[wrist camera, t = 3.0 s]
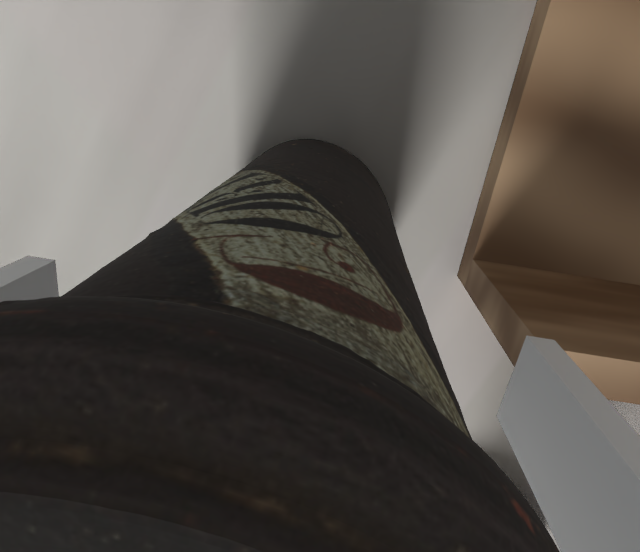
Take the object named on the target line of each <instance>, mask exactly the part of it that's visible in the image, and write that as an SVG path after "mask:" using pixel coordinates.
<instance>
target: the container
mask: <svg viewBox="0 0 640 552" xmlns="http://www.w3.org/2000/svg"><path fill="white" fill-rule="evenodd" d="M0 552H559V550H558V548H557V547H556V545H555V543H554V541H553V539H552V538H551V536H550V534H549V533H548V531H547V530H546V528H545V526H544V525H543V523H542V522H541V520H540V519H539V517H538V516H537V514H536V513H535V511H534V510H533V509H532V508H531V506H530V505H529V503H528V502H527V501H526V499H525V498H524V497H523V495H522V494H521V493H520V491H519V490H518V489H517V488H516V486H515V485H514V484H513V483H512V482H511V480H510V479H509V478H508V477H507V476H506V474H505V473H504V472H503V471H502V470H501V469H500V468H499V467H498V465H497V464H496V463H495V462H494V461H493V460H492V459H491V458H490V457H489V456H488V455H487V454H486V453H485V452H484V451H483V450H482V449H481V448H480V447H479V446H478V445H477V444H476V443H475V442H474V441H473V440H472V438H471V436H470V433H469V431H468V429H467V426H466V424H465V421H464V418H463V415H462V412H461V409H460V406H459V404H458V401H457V399H456V397H455V394H454V392H453V390H452V388H451V385H450V383H449V380H448V378H447V375H446V372H445V370H444V367H443V364H442V361H441V359H440V356H439V353H438V351H437V348H436V345H435V343H434V341H433V338H432V335H431V332H430V329H429V326H428V323H427V320H426V318H425V315H424V312H423V309H422V306H421V303H420V300H419V298H418V295H417V292H416V289H415V286H414V284H413V281H412V278H411V275H410V273H409V270H408V268H407V265H406V262H405V259H404V256H403V252H402V249H401V246H400V243H399V240H398V237H397V233H396V230H395V227H394V224H393V220H392V217H391V213H390V209H389V206H388V204H387V201H386V198H385V196H384V194H383V192H382V190H381V188H380V185H379V183H378V182H377V180H376V179H375V177H374V176H373V174H372V173H371V172H370V171H369V169H368V168H367V167H366V166H365V165H364V164H363V163H362V162H361V161H360V160H359V159H358V158H356V157H355V156H354V155H352V154H351V153H349V152H347V151H346V150H344V149H342V148H340V147H338V146H336V145H333V144H330V143H327V142H324V141H319V140H312V139H298V140H292V141H288V142H285V143H282V144H280V145H277V146H275V147H273V148H271V149H270V150H268V151H267V152H265V153H264V154H262V155H261V156H260V157H258V158H257V159H256V160H254V161H253V162H251V163H250V164H249V165H247V166H246V167H245V168H243V169H242V170H241V171H239V172H238V173H236V174H235V175H234V176H232V177H231V178H229V179H228V180H226V181H225V182H224V183H222V184H221V185H220V186H218V187H216V188H215V189H214V190H212V191H210V192H209V193H208V194H207V195H205V196H204V197H203V198H201V199H200V200H198V201H197V202H196V203H195V204H193V205H192V206H190V207H189V208H188V209H186V210H185V211H183V212H182V213H181V214H179V215H178V216H176V217H175V218H173V219H172V220H171V221H170V222H169V223H168V224H166V225H165V226H164V227H162V228H160V229H159V230H156V231H154V232H152V233H150V234H149V235H148V237H147V238H146V239H144V240H143V241H141V242H140V243H138V244H137V245H135V246H134V247H133V248H131V249H130V250H128V251H127V252H125V253H124V254H122V255H121V256H119V257H118V258H116V259H115V260H114V261H112V262H110V263H109V264H107V265H106V266H105V267H103V268H101V269H100V270H99V271H97V272H96V273H94V274H93V275H92V276H90V277H89V278H88V279H86V280H85V281H83V282H82V283H80V284H79V285H77V286H76V287H75V288H73V289H72V290H70V291H69V292H67V293H66V294H64V295H63V296H61V297H47V298H41V299H34V300H14V301H2V302H0Z"/></svg>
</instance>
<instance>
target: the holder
mask: <svg viewBox="0 0 640 552" xmlns="http://www.w3.org/2000/svg"><path fill="white" fill-rule="evenodd" d="M457 276H458V278H459V279H460V281H461V282H462V284H463V286H464V287H465V289H466V290H467V292H468V294H469V295H470V297H471V298H472V300H473V302H474V303H475V305H476V306H477V308H478V310H479V311H480V313H481V314H482V316H483V318H484V319H485V321H486V322H487V324H488V326H489V327H490V329H491V330H492V332H493V333H494V335H495V337H496V338H497V340H498V341H499V343H500V345H501V346H502V348H503V349H504V351H505V353H506V354H507V356H508V357H509V359H510V361H511V362H512V364H513V365H514V367H515V365H516V362H517V360H518V357H519V354H520V352H521V349H522V346H523V344H524V341H525V338H526V336H533V337H539V338H545V339H552V340H555V341H556V342H557V343H558V345H559V346H560V347H561V348H562V349H563V350H564V351H565V352H566V353H567V355H568V356H569V357H570V358H571V359H572V360H573V361H574V362H575V364H576V365H577V366H578V367H579V368H580V369H581V370H582V371H583V373H584V374H585V375H586V376H587V377H588V378H589V379H590V380H591V382H592V383H593V384H594V385H595V386H596V387H597V388H598V389H599V391H600V392H601V393H602V394H603V395H604V396H605V397H606V398H607V399H608V400H614V401H621V402H627V403H633V404H640V0H537V3H536V7H535V10H534V14H533V17H532V21H531V24H530V27H529V31H528V34H527V38H526V41H525V45H524V48H523V52H522V55H521V58H520V62H519V65H518V69H517V72H516V76H515V79H514V82H513V86H512V89H511V93H510V96H509V100H508V103H507V107H506V110H505V113H504V117H503V120H502V124H501V127H500V131H499V134H498V137H497V141H496V144H495V148H494V151H493V155H492V158H491V161H490V165H489V168H488V172H487V175H486V179H485V182H484V186H483V189H482V192H481V196H480V199H479V203H478V206H477V210H476V213H475V216H474V220H473V223H472V227H471V230H470V234H469V237H468V241H467V244H466V247H465V251H464V254H463V258H462V261H461V265H460V268H459V271H458V275H457Z"/></svg>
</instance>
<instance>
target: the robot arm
mask: <svg viewBox="0 0 640 552" xmlns="http://www.w3.org/2000/svg"><path fill="white" fill-rule="evenodd" d="M47 297H59V294H58V284H57V274H56V264H55V260H51V259H45V258H39V257H33V256H26V257H24V258H22V259H20V260H17V261H15V262H13V263H11V264H8V265H6V266H4V267H2V268H0V302H2V301H14V300H34V299H41V298H47ZM497 418H498V420H499V422H500V424H501V426H502V429H503V431H504V433H505V435H506V437H507V439H508V441H509V443H510V445H511V447H512V449H513V452H514V454H515V456H516V458H517V460H518V462H519V464H520V466H521V468H522V470H523V473H524V475H525V477H526V479H527V481H528V483H529V485H530V487H531V489H532V491H533V494H534V496H535V498H536V500H537V502H538V504H539V506H540V508H541V510H542V512H543V515H544V517H545V519H546V521H547V523H548V525H549V527H550V529H551V531H552V533H553V536H554V538H555V540H556V542H557V544H558V546H559V548H560V550H561V552H640V436H639V434H638V433H637V432H636V431H635V430H634V429H633V428H632V427H631V425H630V424H629V423H628V422H627V421H626V420H625V419H624V418H623V416H622V415H621V414H620V413H619V412H618V411H617V410H616V409H615V407H614V406H613V405H612V404H611V403H610V402H609V401H608V400H607V398H606V397H605V396H604V395H603V394H602V393H601V392H600V391H599V389H598V388H597V387H596V386H595V385H594V384H593V383H592V382H591V380H590V379H589V378H588V377H587V376H586V375H585V374H584V373H583V371H582V370H581V369H580V368H579V367H578V366H577V365H576V364H575V362H574V361H573V360H572V359H571V358H570V357H569V356H568V355H567V353H566V352H565V351H564V350H563V349H562V348H561V347H560V346H559V345H558V343H557V342H556V341H555V340H552V339H545V338H539V337H533V336H526V338H525V341H524V344H523V346H522V349H521V352H520V354H519V357H518V360H517V362H516V365H515V368H514V370H513V373H512V376H511V378H510V381H509V384H508V386H507V389H506V392H505V394H504V397H503V400H502V402H501V405H500V408H499V410H498V413H497Z"/></svg>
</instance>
